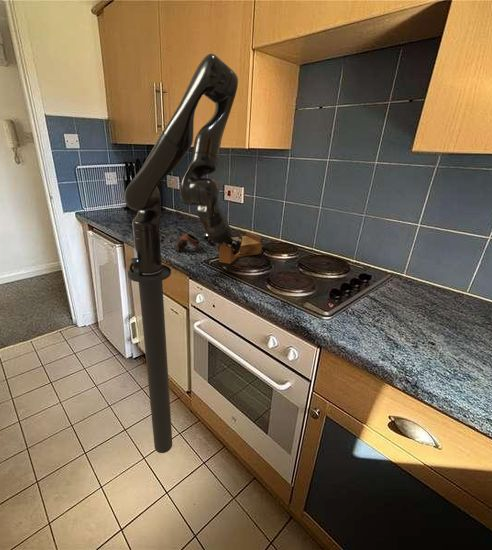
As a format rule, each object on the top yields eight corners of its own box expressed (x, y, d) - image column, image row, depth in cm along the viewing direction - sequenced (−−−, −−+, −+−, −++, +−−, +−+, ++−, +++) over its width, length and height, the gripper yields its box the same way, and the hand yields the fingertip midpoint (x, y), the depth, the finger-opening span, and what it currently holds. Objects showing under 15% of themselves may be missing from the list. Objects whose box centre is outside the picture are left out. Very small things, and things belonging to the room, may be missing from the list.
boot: (230, 268, 106) (231, 241, 102) (218, 265, 108) (219, 239, 104) (238, 260, 114) (240, 234, 110) (227, 258, 116) (228, 233, 112)
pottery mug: (179, 246, 140) (188, 231, 138) (195, 258, 138) (204, 243, 136) (167, 247, 128) (177, 231, 126) (185, 260, 127) (194, 243, 125)
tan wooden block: (239, 257, 127) (240, 241, 124) (226, 248, 137) (226, 233, 134) (261, 253, 132) (262, 238, 129) (247, 245, 142) (247, 231, 139)
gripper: (241, 218, 93) (250, 245, 108) (199, 213, 98) (214, 239, 113) (234, 239, 90) (244, 264, 105) (192, 233, 95) (208, 257, 110)
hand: (229, 251), depth 109 cm, fingers closed on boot, 4 cm apart
